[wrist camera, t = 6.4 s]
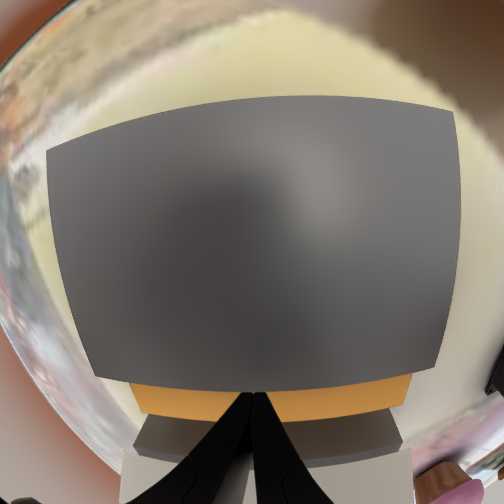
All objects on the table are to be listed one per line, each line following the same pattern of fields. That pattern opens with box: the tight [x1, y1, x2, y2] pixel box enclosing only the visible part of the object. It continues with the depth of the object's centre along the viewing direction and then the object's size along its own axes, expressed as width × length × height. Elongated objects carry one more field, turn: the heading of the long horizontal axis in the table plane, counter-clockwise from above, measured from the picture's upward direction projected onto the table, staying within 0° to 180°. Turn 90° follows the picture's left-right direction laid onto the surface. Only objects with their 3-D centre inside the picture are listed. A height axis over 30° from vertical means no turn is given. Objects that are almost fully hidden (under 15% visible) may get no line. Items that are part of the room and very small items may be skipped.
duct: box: [46, 96, 461, 470], centre depth 12 cm, size 15×22×4 cm, turn 4°
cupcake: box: [414, 461, 484, 504], centre depth 13 cm, size 9×9×10 cm
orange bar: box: [129, 373, 412, 422], centre depth 13 cm, size 14×4×4 cm
